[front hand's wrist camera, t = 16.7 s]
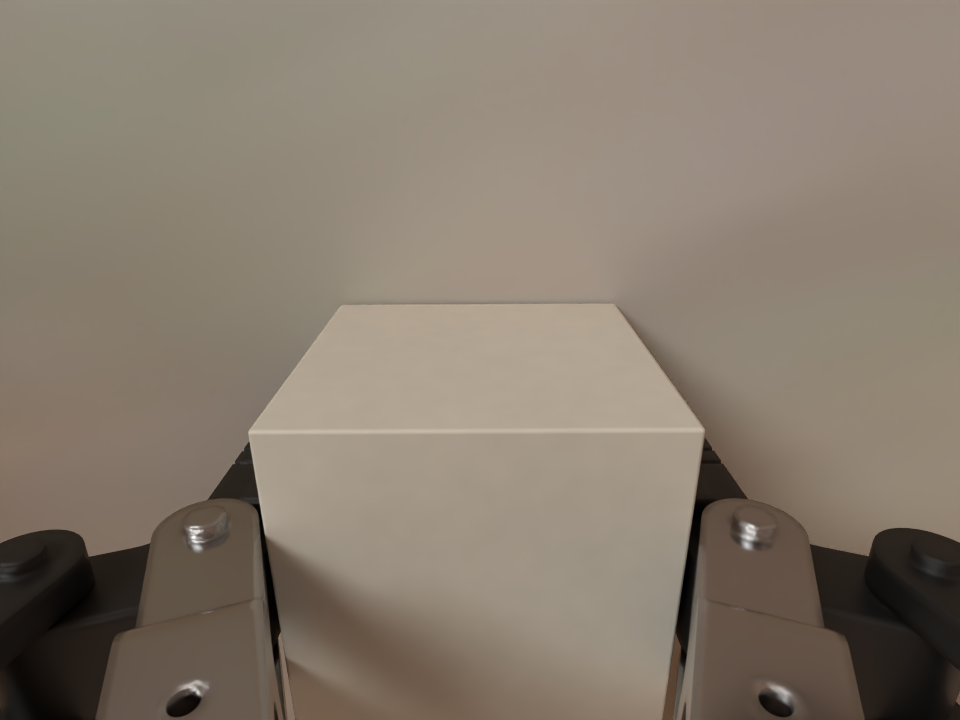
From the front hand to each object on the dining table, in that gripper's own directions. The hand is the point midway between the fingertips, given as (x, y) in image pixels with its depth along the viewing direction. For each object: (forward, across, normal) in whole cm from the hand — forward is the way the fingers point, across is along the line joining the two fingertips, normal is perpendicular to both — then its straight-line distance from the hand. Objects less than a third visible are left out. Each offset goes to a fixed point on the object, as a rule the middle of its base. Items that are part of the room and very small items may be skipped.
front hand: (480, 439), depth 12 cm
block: (+1, 0, 0) cm, 1 cm away
